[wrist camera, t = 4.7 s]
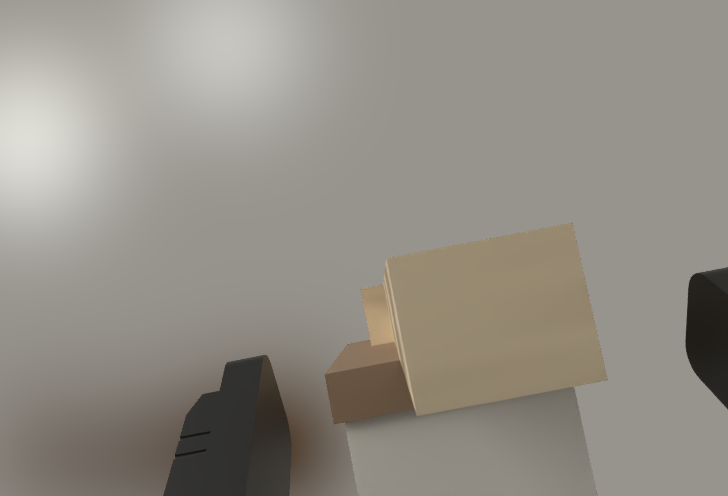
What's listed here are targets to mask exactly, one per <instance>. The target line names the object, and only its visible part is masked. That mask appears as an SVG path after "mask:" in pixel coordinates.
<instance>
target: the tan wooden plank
mask: <svg viewBox="0 0 728 496" xmlns="http://www.w3.org/2000/svg"><path fill="white" fill-rule="evenodd" d="M361 293H362V299H363V304H364V309H365V315H366V320H367V325H368V330H369V335H370V341H371V346H375V345H381V344H386V343H391V342H395V345H396V349H397V352H398V355H399V359H400V362H401V365H402V368H403V372H404V375H405V378H406V382H407V385H408V388H409V391H410V395H411V398H412V401H413V405H414V408H415V411H416V414H417V416H421V415H427V414H432V413H437V412H443V411H448V410H453V409H458V408H464V407H469V406H474V405H480V404H485V403H490V402H495V401H501V400H506V399H511V398H517V397H522V396H527V395H532V394H538V393H543V392H548V391H553V390H559V389H564V388H569V387H575V386H580V385H585V384H590V383H596V382H601V381H606V380H607V375H606V370H605V366H604V361H603V357H602V353H601V348H600V344H599V339H598V335H597V330H596V326H595V321H594V317H593V313H592V308H591V303H590V299H589V294H588V290H587V285H586V281H585V276H584V272H583V267H582V263H581V258H580V254H579V249H578V245H577V240H576V236H575V231H574V227H573V223H569V224H563V225H558V226H553V227H548V228H543V229H538V230H532V231H527V232H522V233H517V234H511V235H507V236H502V237H496V238H491V239H485V240H481V241H475V242H470V243H465V244H460V245H454V246H449V247H444V248H439V249H434V250H429V251H424V252H418V253H413V254H408V255H402V256H397V257H392V258H387V259H386V267H385V276H384V283H383V285H379V286H373V287H368V288H363V289H361Z"/></svg>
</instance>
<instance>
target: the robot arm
mask: <svg viewBox="0 0 728 496" xmlns="http://www.w3.org/2000/svg"><path fill="white" fill-rule="evenodd" d="M687 307H688V308H687V325H686V352H687V356H688V359H689V362H690V364H691V366H692V368H693V370H694V372H695V373H696V375H697V376H698V377H699V378H700V379H701V381H702V382H703V383H704V384H705V385H706V386H707V387H708V388H709V389H710V390H711V391H712V392H713V394H714V395H715V396H716V397H717V398H718V399H719V400H720V401H721V402H722V403H723V404H724V406H725V407H726V408H727V409H728V267H727V268H723V269H717V270H712V271H706V272H701V273H696V274H694V275H693V276H692V277H691V279H690V282H689V288H688V306H687ZM180 438H181V441H179V443H178V446H177V450H176V453H175V458H176V459H175V460H173V464H172V467H171V471H170V474H169V478H168V481H167V485H166V489H165V492H164V495H163V496H289V489H290V468H291V438H290V431H289V425H288V421H287V417H286V413H285V410H284V406H283V403H282V400H281V397H280V393H279V390H278V386H277V383H276V380H275V376H274V373H273V369H272V366H271V363H270V360H269V358H268V357H267V356H266V355H262V356H257V357H252V358H247V359H241V360H237V361H231V362H227V364H226V365H225V370H224V374H223V378H222V383H221V387H220V391H217V392H212V393H207V394H203V395H202V396H201V397H200V398H199V400H198V401H197V402H196V403H195V405H194V406H193V407H192V408H191V410H190V411H189V412H188V414H187V415H186V418H185V421H184V425H183V428H182V432H181V436H180Z"/></svg>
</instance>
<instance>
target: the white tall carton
mask: <svg viewBox="0 0 728 496" xmlns="http://www.w3.org/2000/svg"><path fill="white" fill-rule="evenodd" d="M325 378H326V384H327V389H328V395H329V400H330V406H331V411H332V417H333V422H334V424H338V423H344V422H345V427H346V432H347V438H348V443H349V448H350V454H351V459H352V465H353V470H354V475H355V481H356V486H357V492H358V496H598V495H597V490H596V486H595V481H594V477H593V472H592V467H591V463H590V458H589V454H588V449H587V445H586V440H585V436H584V431H583V426H582V422H581V417H580V412H579V408H578V403H577V398H576V394H575V389H574V387H569V388H564V389H559V390H553V391H548V392H543V393H538V394H532V395H527V396H522V397H517V398H511V399H506V400H501V401H495V402H490V403H485V404H480V405H474V406H469V407H464V408H458V409H453V410H448V411H443V412H437V413H432V414H427V415H421V416H417V414H416V411H415V408H414V405H413V401H412V398H411V395H410V391H409V388H408V385H407V382H406V378H405V375H404V372H403V368H402V365H401V362H400V359H399V355H398V352H397V349H396V345H395V342H391V343H386V344H381V345H375V346H371V341H370V340H367V341H362V342H357V343H351V344H348V345H347V346H346V347H345V348H344V350H343V351H342V352H341V354H340V355H339V356H338V358H337V359H336V360H335V362H334V363H333V364H332V365H331V367H330V368H329V369H328V371H327V372H326V373H325Z"/></svg>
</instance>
